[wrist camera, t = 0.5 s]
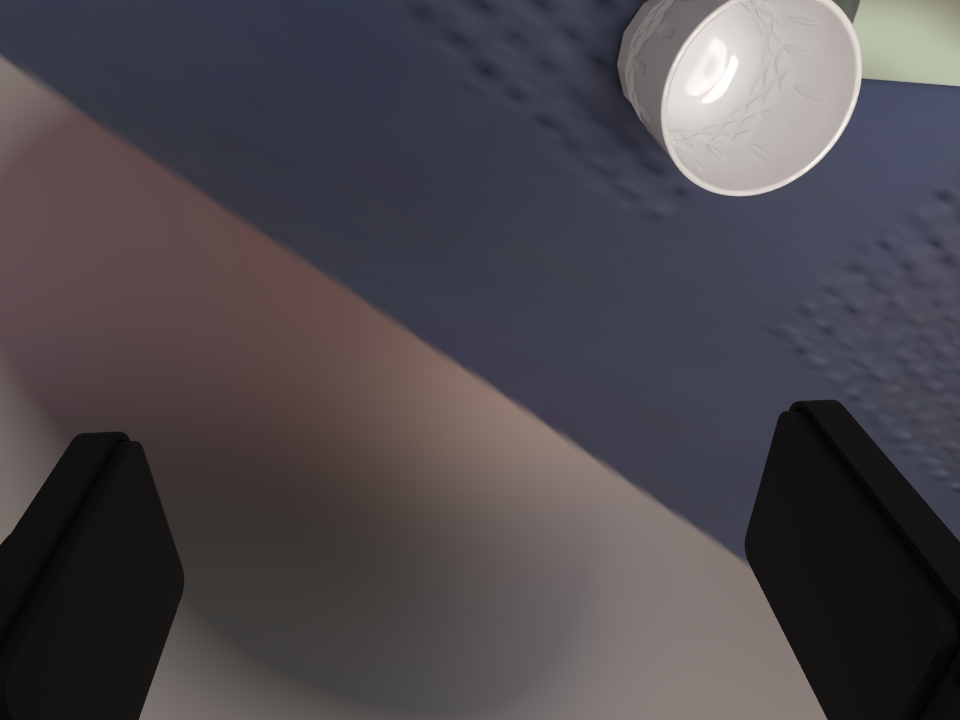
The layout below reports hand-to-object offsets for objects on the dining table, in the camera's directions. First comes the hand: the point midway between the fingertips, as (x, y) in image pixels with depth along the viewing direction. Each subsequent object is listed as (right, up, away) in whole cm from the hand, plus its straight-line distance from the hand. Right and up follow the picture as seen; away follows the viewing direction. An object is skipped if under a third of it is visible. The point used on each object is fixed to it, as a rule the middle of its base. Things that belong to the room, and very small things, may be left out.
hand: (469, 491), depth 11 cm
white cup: (+10, +18, +26) cm, 33 cm away
